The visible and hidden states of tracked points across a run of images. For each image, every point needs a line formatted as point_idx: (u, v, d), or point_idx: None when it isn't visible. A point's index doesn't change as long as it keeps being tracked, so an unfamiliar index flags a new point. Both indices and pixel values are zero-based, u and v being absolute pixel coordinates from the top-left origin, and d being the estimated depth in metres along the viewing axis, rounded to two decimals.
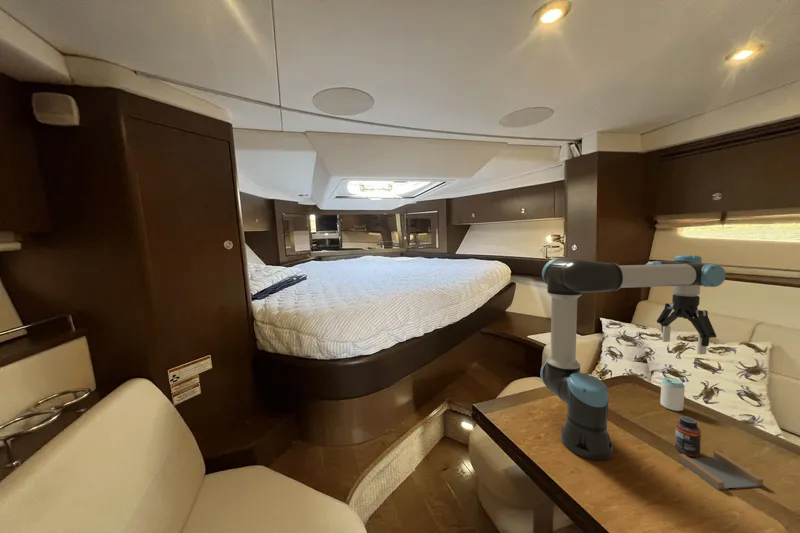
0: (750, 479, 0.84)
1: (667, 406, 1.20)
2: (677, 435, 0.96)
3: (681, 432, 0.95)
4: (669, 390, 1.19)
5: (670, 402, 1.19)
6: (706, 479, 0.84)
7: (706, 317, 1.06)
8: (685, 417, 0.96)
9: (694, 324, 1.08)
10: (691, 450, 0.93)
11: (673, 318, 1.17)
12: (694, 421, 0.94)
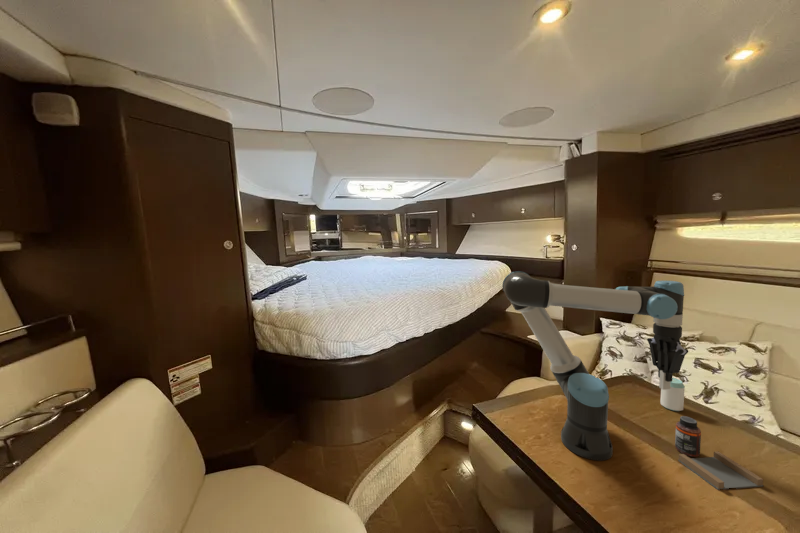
0: (750, 479, 0.84)
1: (667, 406, 1.20)
2: (677, 435, 0.96)
3: (681, 432, 0.95)
4: (669, 390, 1.19)
5: (670, 402, 1.19)
6: (706, 479, 0.84)
7: (682, 356, 0.97)
8: (685, 417, 0.96)
9: (666, 358, 1.01)
10: (691, 450, 0.93)
11: (663, 354, 1.03)
12: (694, 421, 0.94)
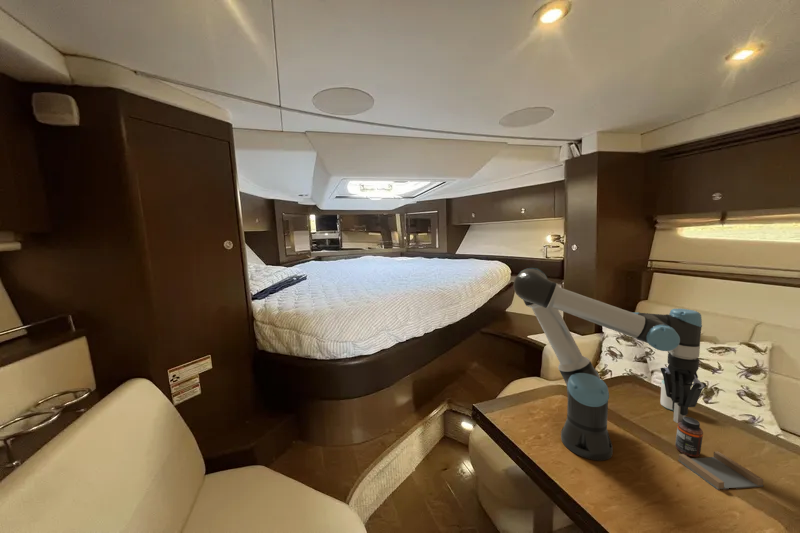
0: (750, 479, 0.84)
1: (667, 406, 1.20)
2: (678, 435, 0.96)
3: (683, 433, 0.94)
4: None
5: (670, 402, 1.19)
6: (706, 479, 0.84)
7: (700, 390, 0.92)
8: (688, 418, 0.96)
9: (681, 391, 0.96)
10: (692, 450, 0.93)
11: (678, 386, 0.98)
12: (697, 422, 0.93)
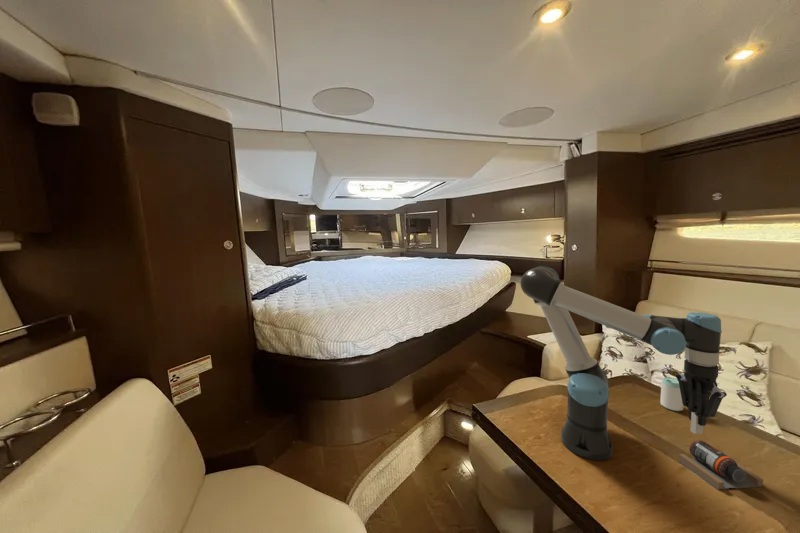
0: (750, 479, 0.84)
1: (667, 406, 1.20)
2: (707, 457, 0.88)
3: (713, 466, 0.86)
4: (669, 390, 1.19)
5: (670, 402, 1.19)
6: (706, 479, 0.84)
7: (719, 399, 0.87)
8: (740, 472, 0.82)
9: (699, 399, 0.91)
10: (699, 460, 0.91)
11: (695, 395, 0.93)
12: (741, 479, 0.82)
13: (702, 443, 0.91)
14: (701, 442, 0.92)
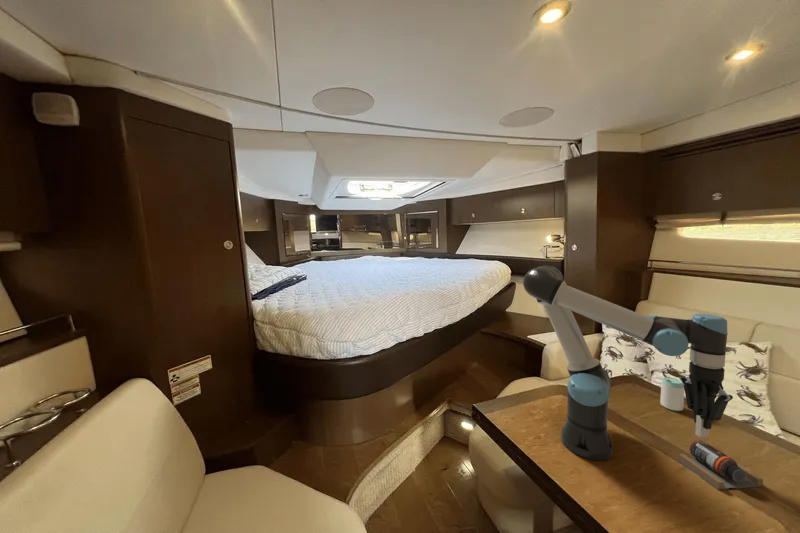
0: (750, 479, 0.84)
1: (667, 406, 1.20)
2: (707, 457, 0.88)
3: (714, 466, 0.86)
4: (669, 390, 1.19)
5: (670, 402, 1.19)
6: (706, 479, 0.84)
7: (725, 402, 0.85)
8: (740, 472, 0.82)
9: (705, 402, 0.89)
10: (699, 460, 0.91)
11: (701, 398, 0.91)
12: (741, 479, 0.82)
13: (702, 443, 0.91)
14: (701, 442, 0.92)
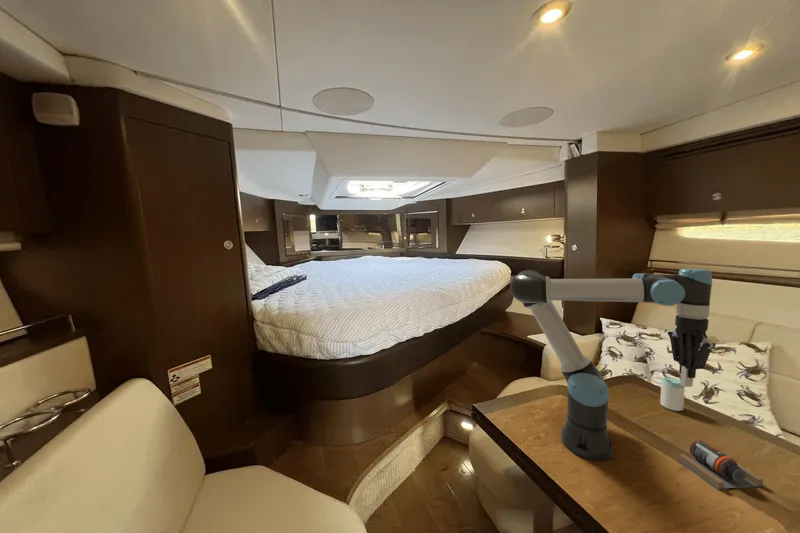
0: (750, 479, 0.84)
1: (667, 406, 1.20)
2: (707, 457, 0.88)
3: (714, 466, 0.86)
4: (669, 390, 1.19)
5: (670, 402, 1.19)
6: (706, 479, 0.84)
7: (708, 350, 0.89)
8: (740, 472, 0.82)
9: (689, 352, 0.93)
10: (699, 460, 0.91)
11: (686, 349, 0.95)
12: (741, 479, 0.82)
13: (702, 443, 0.91)
14: (701, 442, 0.92)
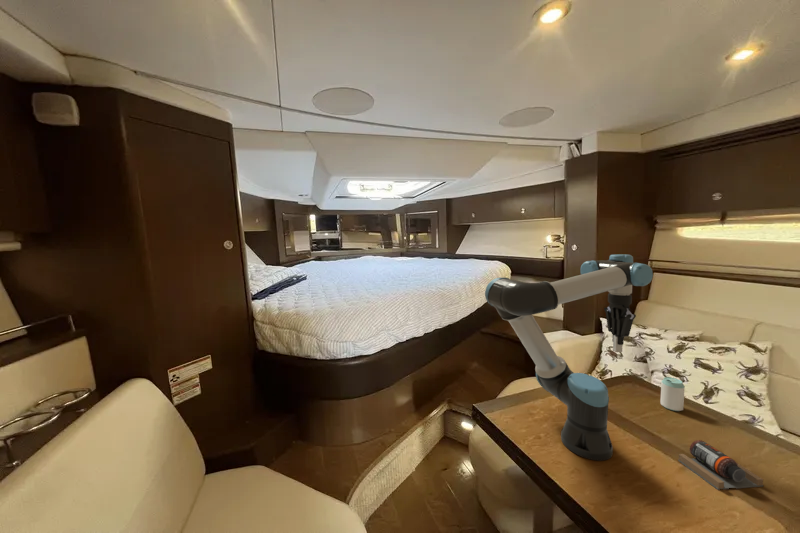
0: (750, 479, 0.84)
1: (667, 406, 1.20)
2: (707, 457, 0.88)
3: (714, 466, 0.86)
4: (669, 390, 1.19)
5: (670, 402, 1.19)
6: (706, 479, 0.84)
7: (631, 320, 1.09)
8: (740, 472, 0.82)
9: (618, 323, 1.13)
10: (699, 460, 0.91)
11: (616, 321, 1.15)
12: (741, 479, 0.82)
13: (702, 443, 0.91)
14: (701, 442, 0.92)
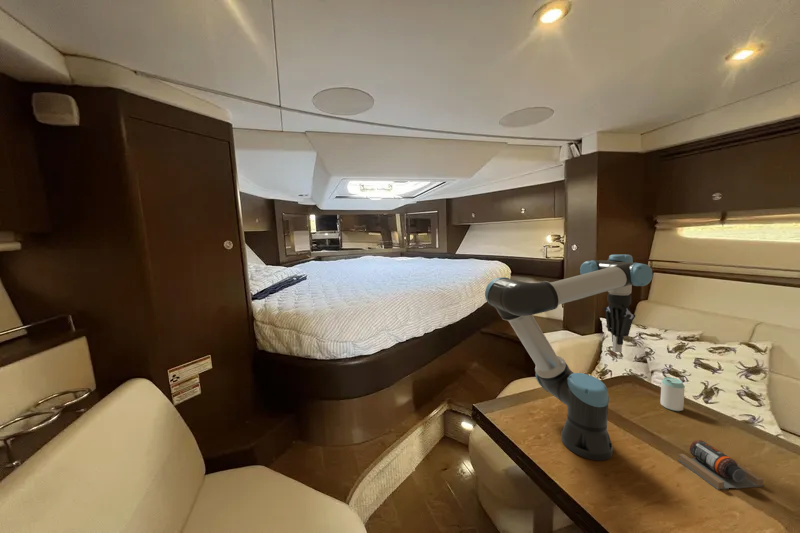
0: (750, 479, 0.84)
1: (667, 406, 1.20)
2: (707, 457, 0.88)
3: (714, 466, 0.86)
4: (669, 390, 1.19)
5: (670, 402, 1.19)
6: (706, 479, 0.84)
7: (630, 320, 1.09)
8: (740, 472, 0.82)
9: (617, 323, 1.13)
10: (699, 460, 0.91)
11: (616, 321, 1.15)
12: (741, 479, 0.82)
13: (702, 443, 0.91)
14: (701, 442, 0.92)
